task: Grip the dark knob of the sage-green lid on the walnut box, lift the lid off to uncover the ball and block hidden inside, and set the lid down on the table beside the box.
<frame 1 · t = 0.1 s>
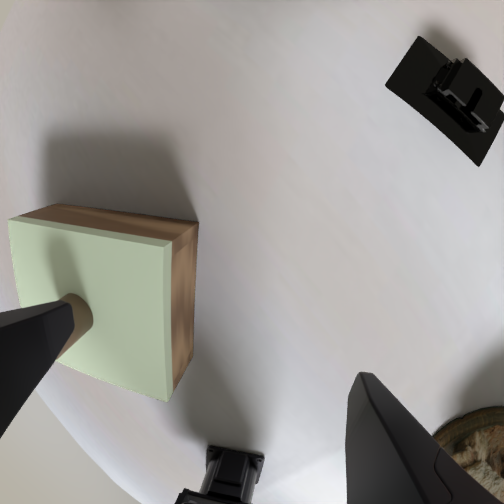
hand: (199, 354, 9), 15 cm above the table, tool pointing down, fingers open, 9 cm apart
walnut box: (119, 279, 26), on the table
lid: (86, 305, 21), point 5 cm above the table, touching walnut box
black angular piece: (448, 101, 18), on the table
owl figurine: (480, 438, 26), on the table
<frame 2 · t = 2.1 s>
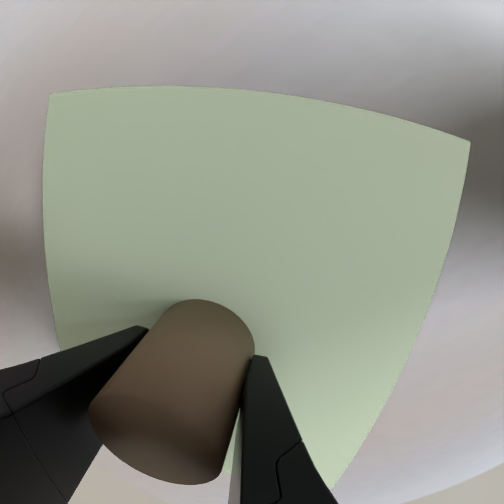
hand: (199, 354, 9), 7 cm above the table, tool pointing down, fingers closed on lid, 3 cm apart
lid: (214, 324, 10), point 5 cm above the table, touching gripper, walnut box
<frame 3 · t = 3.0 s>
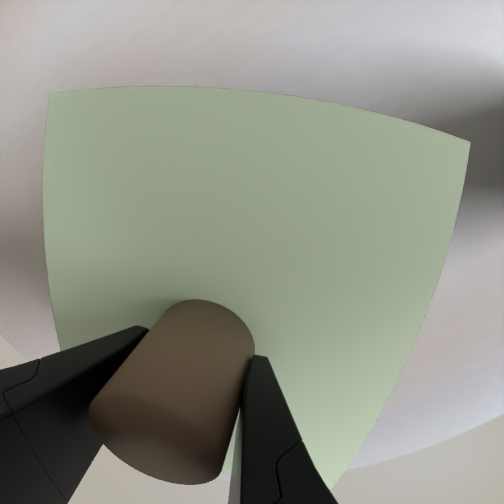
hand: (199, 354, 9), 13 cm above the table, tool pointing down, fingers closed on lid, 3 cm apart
lid: (214, 324, 10), point 11 cm above the table, touching gripper
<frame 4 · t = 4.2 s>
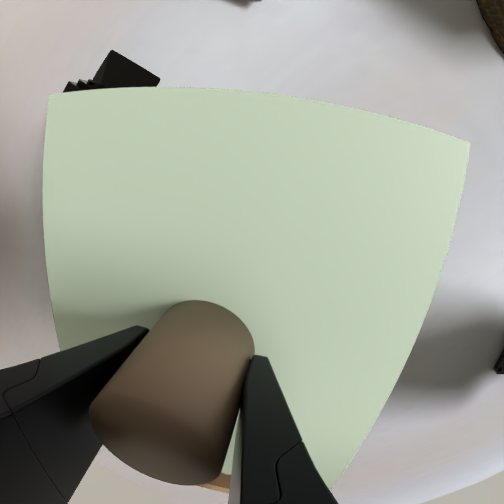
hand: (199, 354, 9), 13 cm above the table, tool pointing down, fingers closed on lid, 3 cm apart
walnut box: (274, 422, 26), on the table
lid: (214, 325, 10), point 11 cm above the table, touching gripper
black angular piece: (107, 117, 21), on the table
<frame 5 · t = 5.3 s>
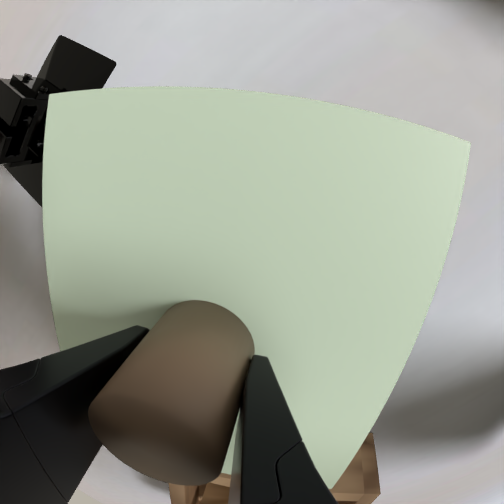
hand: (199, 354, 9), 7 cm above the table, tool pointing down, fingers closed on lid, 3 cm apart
walnut box: (265, 475, 20), on the table
lid: (214, 325, 10), point 5 cm above the table, touching gripper
beech block: (231, 492, 20), point 1 cm above the table, touching walnut box
black angular piece: (55, 119, 15), on the table
when the fingers open (4 cm above the table, at t = 6.2 s): lid drops 2 cm, on the table.
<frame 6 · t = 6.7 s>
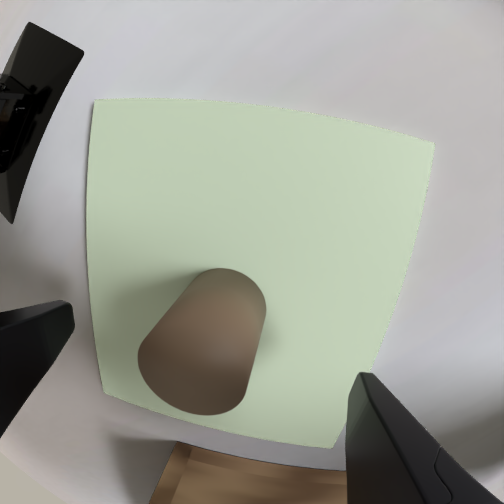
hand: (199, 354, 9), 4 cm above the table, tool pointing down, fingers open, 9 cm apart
lid: (232, 293, 13), on the table
black angular piece: (21, 121, 12), on the table
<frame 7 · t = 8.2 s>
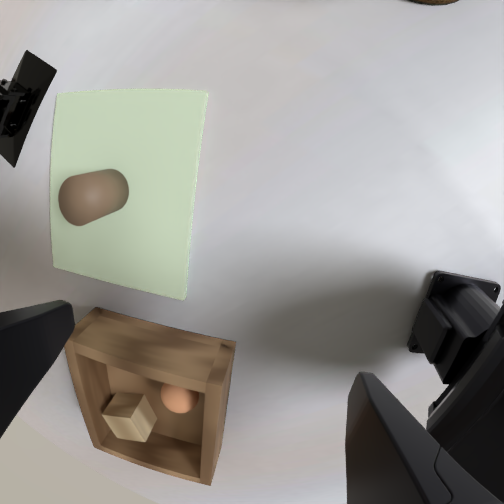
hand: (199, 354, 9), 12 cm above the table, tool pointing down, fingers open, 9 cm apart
walnut box: (161, 388, 26), on the table
lid: (119, 187, 21), on the table
beech block: (136, 405, 26), point 1 cm above the table, touching walnut box
black angular piece: (22, 108, 20), on the table
terracotta ball: (185, 382, 24), point 1 cm above the table, touching walnut box
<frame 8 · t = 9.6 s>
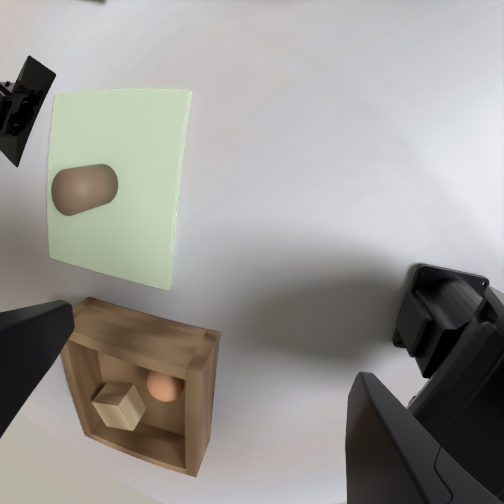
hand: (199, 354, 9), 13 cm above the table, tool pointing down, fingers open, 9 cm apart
walnut box: (150, 378, 27), on the table
lid: (110, 182, 22), on the table
beech block: (126, 395, 27), point 1 cm above the table, touching walnut box
black angular piece: (26, 109, 21), on the table
terracotta ball: (171, 372, 25), point 1 cm above the table, touching walnut box
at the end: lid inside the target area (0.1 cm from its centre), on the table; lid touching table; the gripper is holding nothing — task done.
